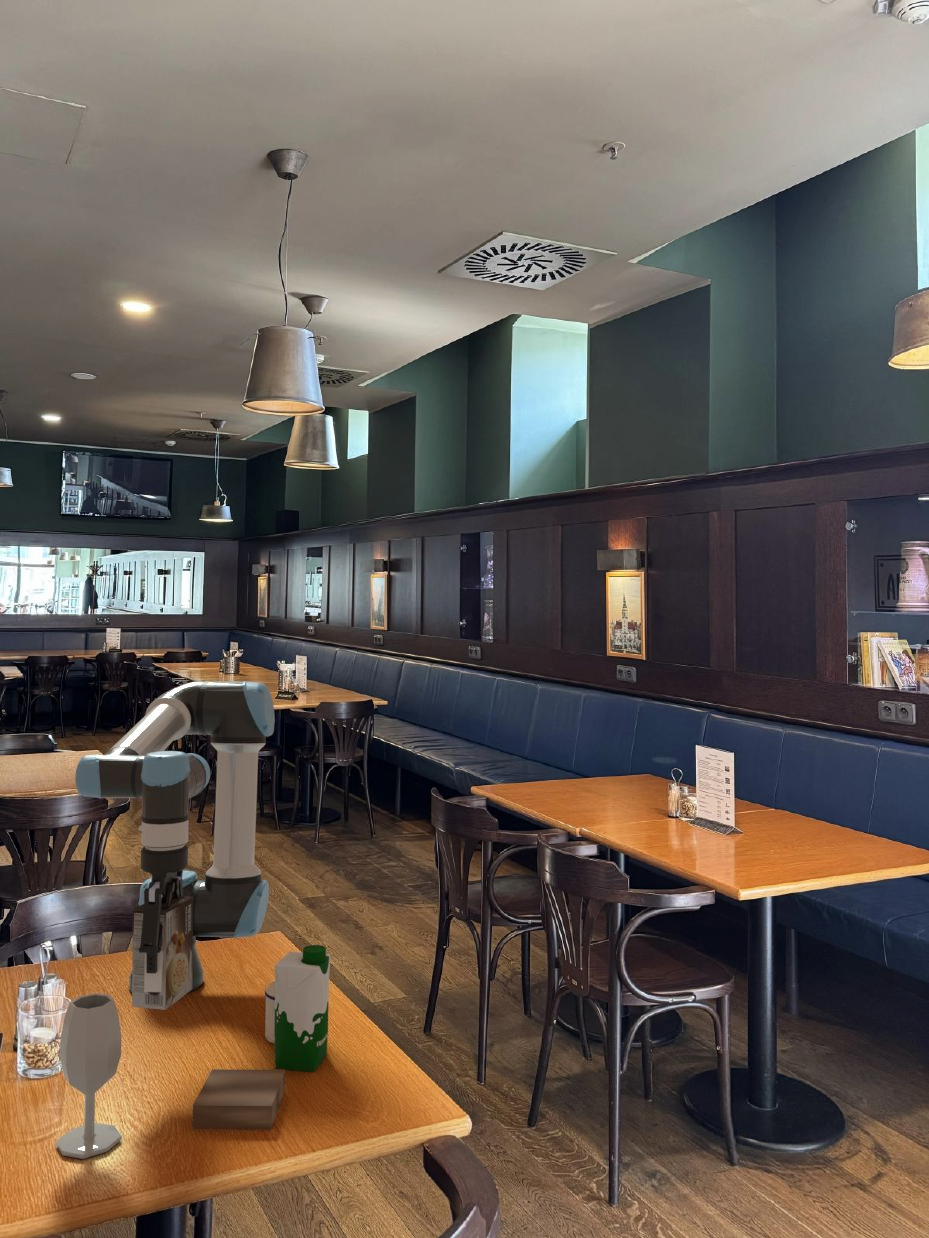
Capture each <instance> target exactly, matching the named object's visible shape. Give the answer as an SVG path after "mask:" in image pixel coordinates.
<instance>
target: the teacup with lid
mask: <svg viewBox="0 0 929 1238" xmlns="http://www.w3.org/2000/svg"><path fill="white" fill-rule="evenodd" d="M264 995H265V1026H264V1027H265V1028H264V1029H265V1030H264V1031H265V1032H264V1034H265V1035H264V1036H265V1039H266V1040H267V1042H269V1043H271V1044H274V1045H275V1041H274V1031H275V981H273V982H271V983H268V985H266V988H265V990H264Z"/></svg>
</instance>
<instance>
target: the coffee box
mask: <svg viewBox="0 0 929 1238" xmlns="http://www.w3.org/2000/svg"><path fill="white" fill-rule="evenodd" d="M143 912H144V904H143V905H141V906H139V905H138V906H137V907H136V908H134V909H132V947H131V948H132V950H131V951H132V952H131V953H132V955H131V957H132V959H131V960H132V961H131V962H132V965H131V966H132V967H131V971H132V992H131V994H132V995H131V1006H132V1007H133V1008H141V1009H142V1008H144V1009H152V1010H153V1009H154V1010H164V1011H166V1010H168V1009H169V1008H170V1007H171V1006H173V1005H174V1004H175V1003H177V1002H178V1001H179V1000H180V999H181V998H183V997H184V996H185V995H187V994H188V993H190V992H191V991H190V990H192V972H193V971H192V968H193V967H192V959H193V897H188V896H179V898H178V899H176V898H172V899H171V904H170V908H168V909H165V910H161V915H160V924H162V944H161V950H163V979H162V991H161V992H144V966H145V953H139V948H140V945H141V934H142V923H143ZM149 945H152V944H149ZM189 991H190V992H189Z"/></svg>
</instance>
